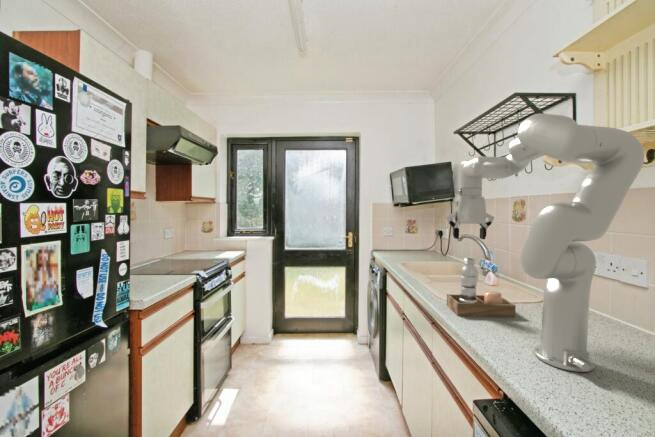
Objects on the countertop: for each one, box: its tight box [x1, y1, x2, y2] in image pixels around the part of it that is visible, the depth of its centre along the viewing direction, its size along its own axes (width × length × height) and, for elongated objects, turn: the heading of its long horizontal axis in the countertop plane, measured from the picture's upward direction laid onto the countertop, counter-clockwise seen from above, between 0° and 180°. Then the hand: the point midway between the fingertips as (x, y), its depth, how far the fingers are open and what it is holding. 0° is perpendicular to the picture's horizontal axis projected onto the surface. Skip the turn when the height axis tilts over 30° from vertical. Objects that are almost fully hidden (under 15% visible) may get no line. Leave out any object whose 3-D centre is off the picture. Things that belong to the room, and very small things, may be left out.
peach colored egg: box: [483, 290, 502, 304], centre depth 115 cm, size 6×6×7 cm
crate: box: [446, 293, 516, 318], centre depth 115 cm, size 12×20×5 cm, turn 87°
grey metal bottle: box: [459, 257, 480, 304], centre depth 115 cm, size 6×7×20 cm
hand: (469, 238), depth 114 cm, fingers open, 9 cm apart
